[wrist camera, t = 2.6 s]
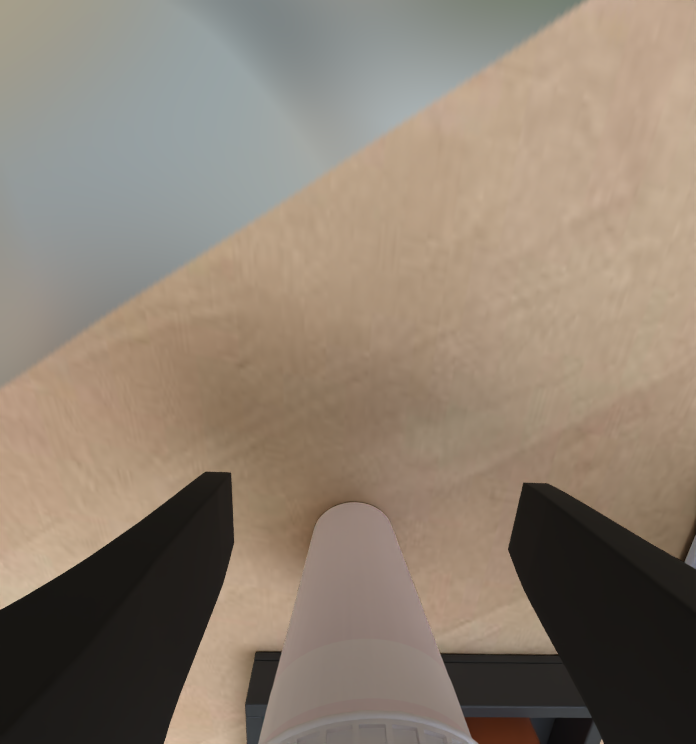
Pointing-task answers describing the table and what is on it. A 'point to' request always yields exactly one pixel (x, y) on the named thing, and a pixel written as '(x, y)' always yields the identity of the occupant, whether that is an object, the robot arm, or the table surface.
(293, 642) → the smoothie
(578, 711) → the holder
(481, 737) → the spice pot
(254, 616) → the table surface
